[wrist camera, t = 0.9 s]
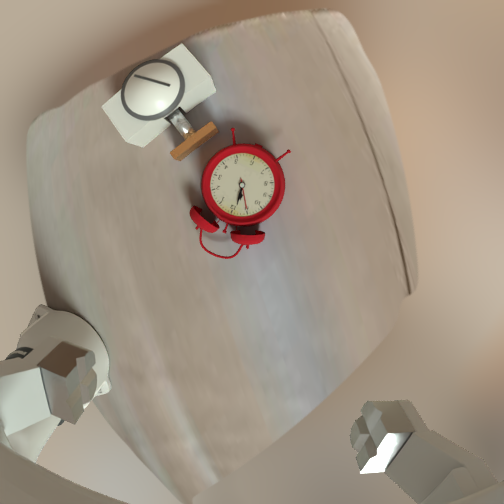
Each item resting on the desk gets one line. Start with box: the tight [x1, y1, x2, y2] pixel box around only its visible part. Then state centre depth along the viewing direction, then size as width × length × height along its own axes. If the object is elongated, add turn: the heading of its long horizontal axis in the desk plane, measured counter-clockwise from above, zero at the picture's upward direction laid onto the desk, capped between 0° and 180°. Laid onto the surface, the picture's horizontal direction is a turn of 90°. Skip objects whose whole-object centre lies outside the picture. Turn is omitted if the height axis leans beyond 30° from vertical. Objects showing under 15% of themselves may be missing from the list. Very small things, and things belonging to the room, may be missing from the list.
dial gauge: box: [102, 44, 216, 147], centre depth 32 cm, size 12×8×7 cm, turn 126°
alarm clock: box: [190, 128, 291, 259], centre depth 36 cm, size 10×6×15 cm
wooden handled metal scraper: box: [167, 108, 219, 161], centre depth 34 cm, size 6×6×3 cm
